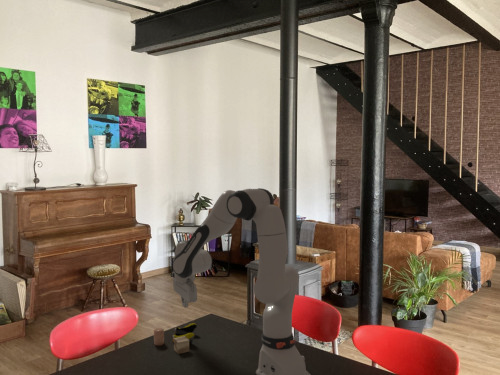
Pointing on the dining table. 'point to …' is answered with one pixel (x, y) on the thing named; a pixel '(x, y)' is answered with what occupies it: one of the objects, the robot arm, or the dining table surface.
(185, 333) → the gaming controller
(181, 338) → the maple block
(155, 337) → the terracotta cylinder
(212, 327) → the dining table surface
